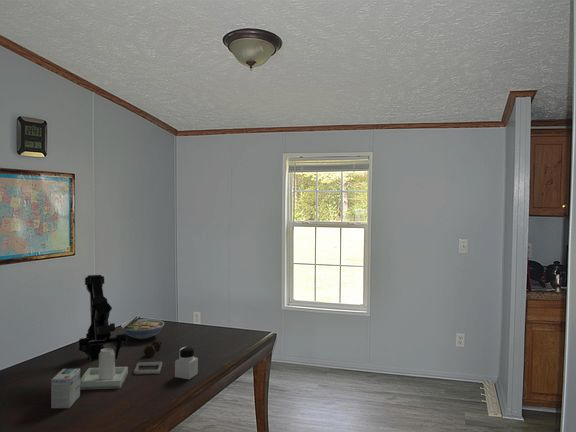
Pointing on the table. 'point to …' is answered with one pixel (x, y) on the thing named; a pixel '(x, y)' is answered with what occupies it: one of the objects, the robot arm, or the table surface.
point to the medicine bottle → (186, 364)
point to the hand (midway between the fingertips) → (104, 360)
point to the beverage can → (106, 364)
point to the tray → (93, 382)
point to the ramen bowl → (142, 328)
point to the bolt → (152, 348)
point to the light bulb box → (65, 388)
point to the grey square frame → (148, 370)
